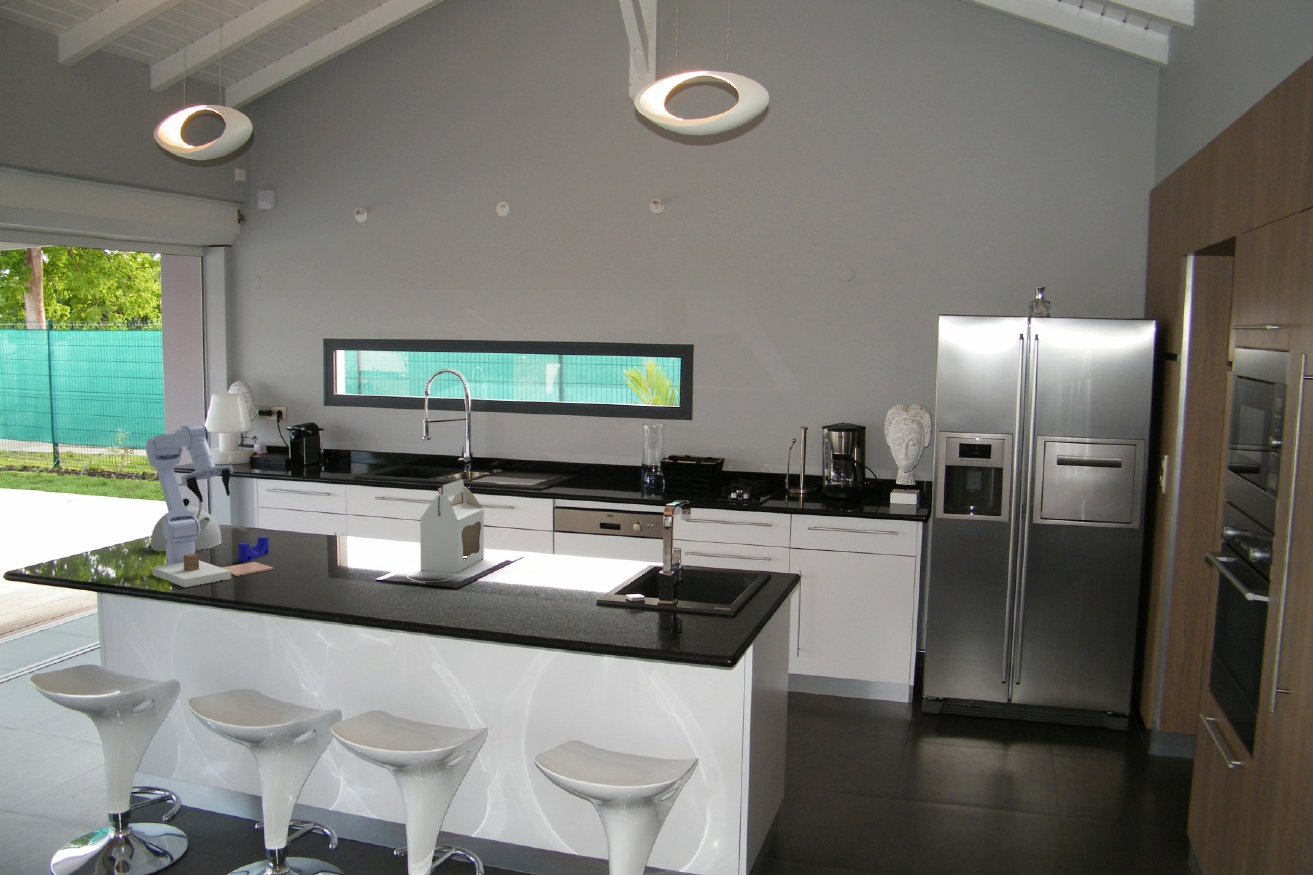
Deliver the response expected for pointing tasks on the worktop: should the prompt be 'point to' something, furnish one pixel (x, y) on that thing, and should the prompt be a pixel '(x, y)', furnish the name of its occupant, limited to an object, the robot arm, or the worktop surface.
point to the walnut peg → (191, 562)
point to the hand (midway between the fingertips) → (215, 497)
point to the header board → (191, 574)
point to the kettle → (205, 539)
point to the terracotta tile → (247, 568)
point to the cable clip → (253, 549)
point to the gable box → (452, 530)
